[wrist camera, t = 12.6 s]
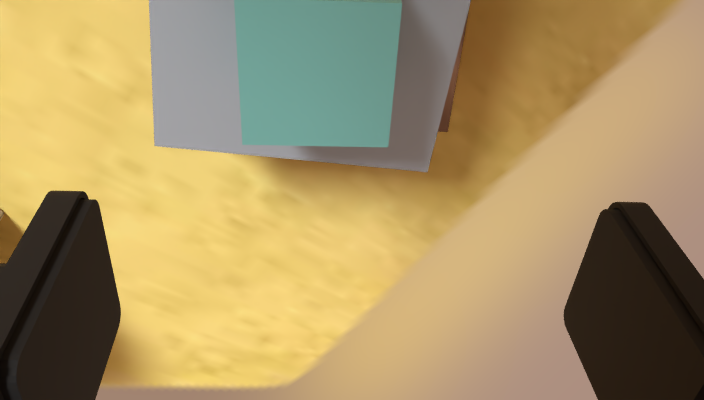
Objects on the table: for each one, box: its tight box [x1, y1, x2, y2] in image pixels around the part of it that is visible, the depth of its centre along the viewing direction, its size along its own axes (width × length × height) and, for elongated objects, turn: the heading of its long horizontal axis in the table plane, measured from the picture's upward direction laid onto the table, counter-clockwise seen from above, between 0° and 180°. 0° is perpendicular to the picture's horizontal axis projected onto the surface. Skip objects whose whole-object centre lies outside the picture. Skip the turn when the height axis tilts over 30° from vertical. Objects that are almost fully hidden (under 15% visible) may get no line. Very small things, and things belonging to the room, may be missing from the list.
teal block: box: [234, 0, 402, 147], centre depth 22 cm, size 5×5×5 cm
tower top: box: [149, 0, 471, 172], centre depth 26 cm, size 12×12×5 cm
